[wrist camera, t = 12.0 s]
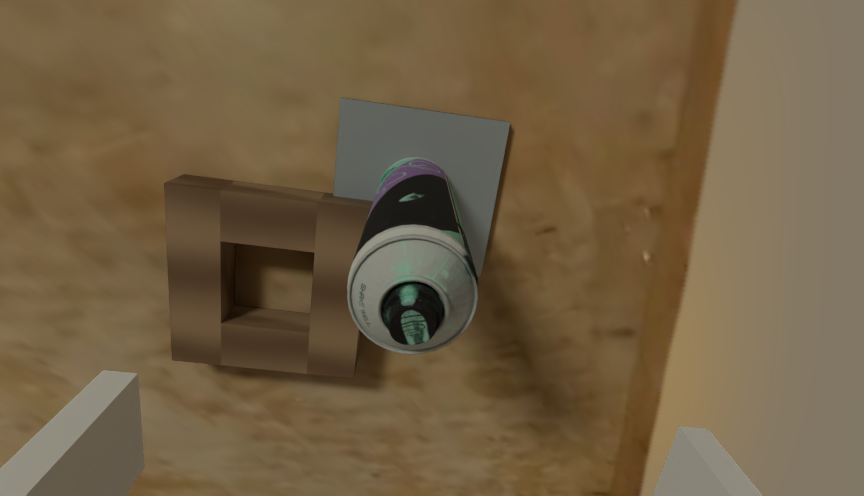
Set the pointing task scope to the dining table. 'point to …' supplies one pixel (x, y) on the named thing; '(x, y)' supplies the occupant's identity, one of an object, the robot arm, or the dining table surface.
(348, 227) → the eye block
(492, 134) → the slate tile
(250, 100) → the dining table surface
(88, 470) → the robot arm
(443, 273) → the spray can
